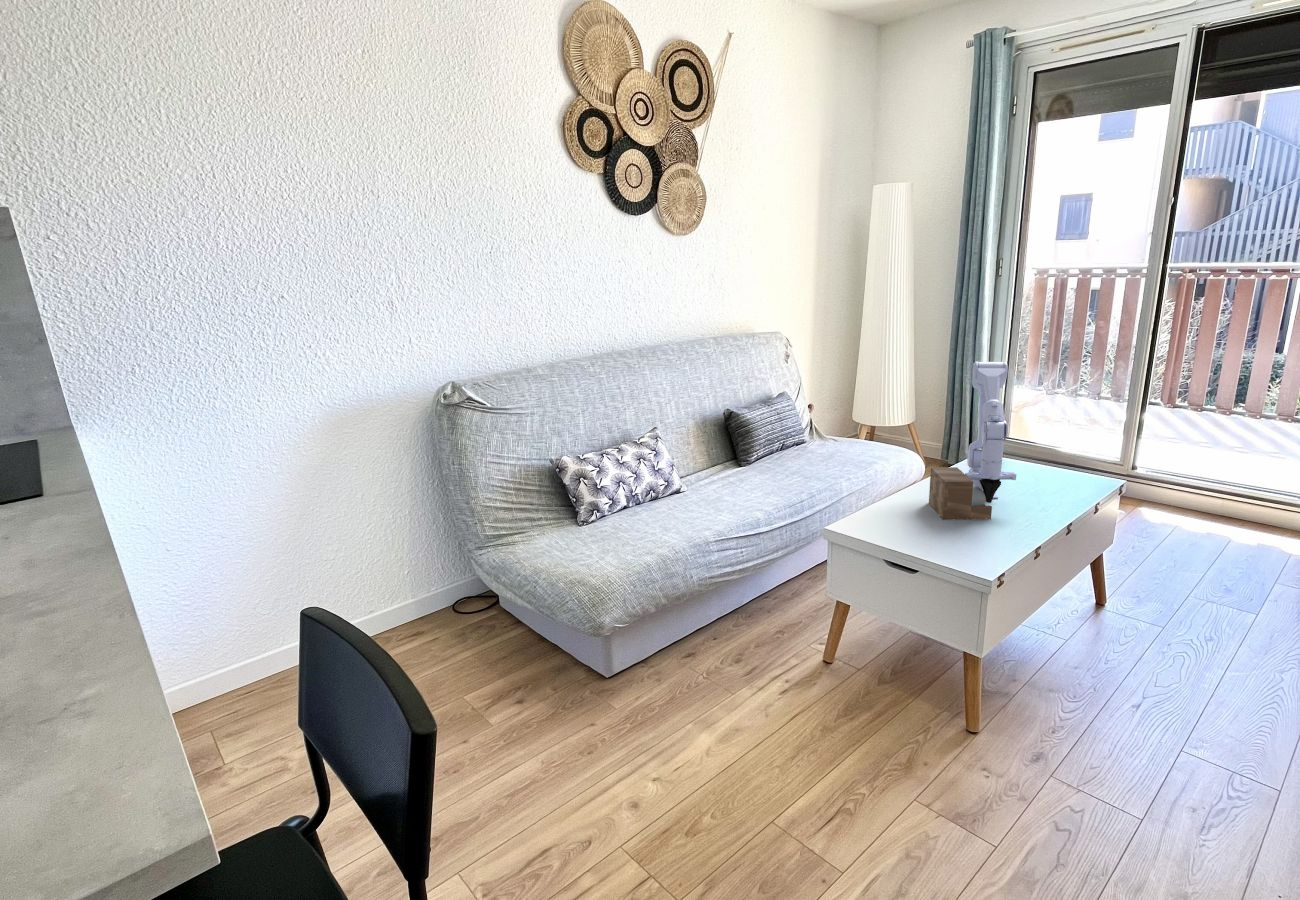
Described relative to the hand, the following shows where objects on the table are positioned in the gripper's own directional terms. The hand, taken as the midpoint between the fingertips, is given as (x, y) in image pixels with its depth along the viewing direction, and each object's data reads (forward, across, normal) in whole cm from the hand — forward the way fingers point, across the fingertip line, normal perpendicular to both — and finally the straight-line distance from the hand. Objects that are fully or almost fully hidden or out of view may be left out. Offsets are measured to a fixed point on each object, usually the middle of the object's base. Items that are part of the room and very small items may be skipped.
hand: (988, 501), depth 217 cm
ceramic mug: (+3, -5, -1) cm, 6 cm away
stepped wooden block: (+3, -9, 0) cm, 9 cm away
